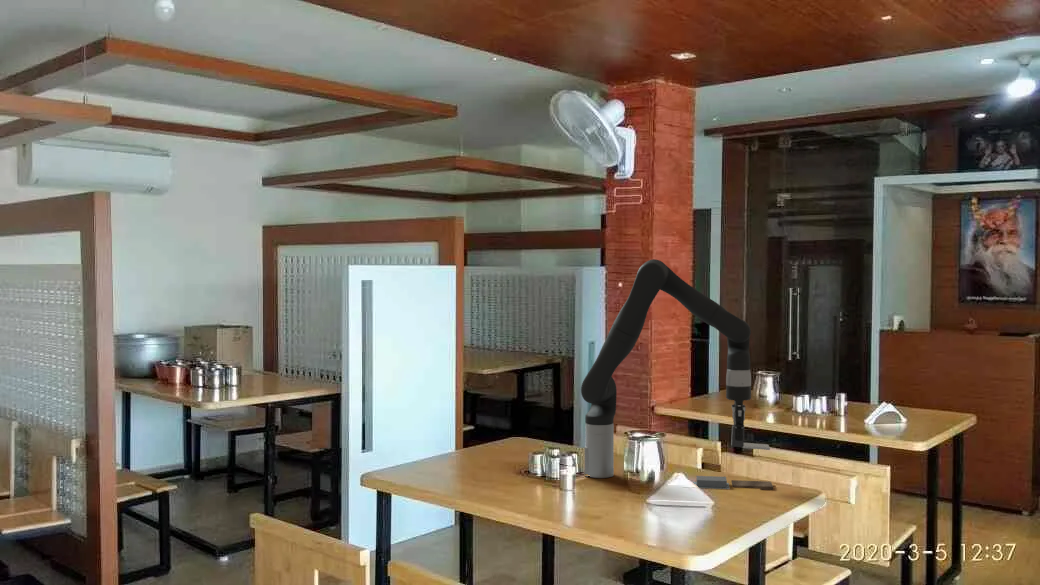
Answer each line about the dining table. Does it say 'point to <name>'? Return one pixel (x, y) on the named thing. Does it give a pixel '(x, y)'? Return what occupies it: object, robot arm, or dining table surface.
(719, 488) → the mat
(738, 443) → the turner
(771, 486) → the rest board
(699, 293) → the robot arm
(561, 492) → the dining table surface
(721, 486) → the tile
